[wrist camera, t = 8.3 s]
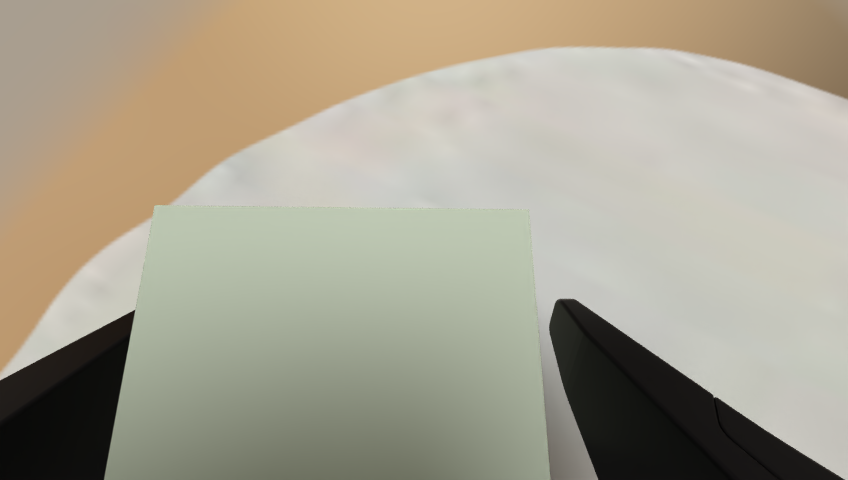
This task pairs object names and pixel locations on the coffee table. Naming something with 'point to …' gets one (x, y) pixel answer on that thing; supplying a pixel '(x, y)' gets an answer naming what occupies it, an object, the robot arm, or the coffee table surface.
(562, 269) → the coffee table surface
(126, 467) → the sage block
